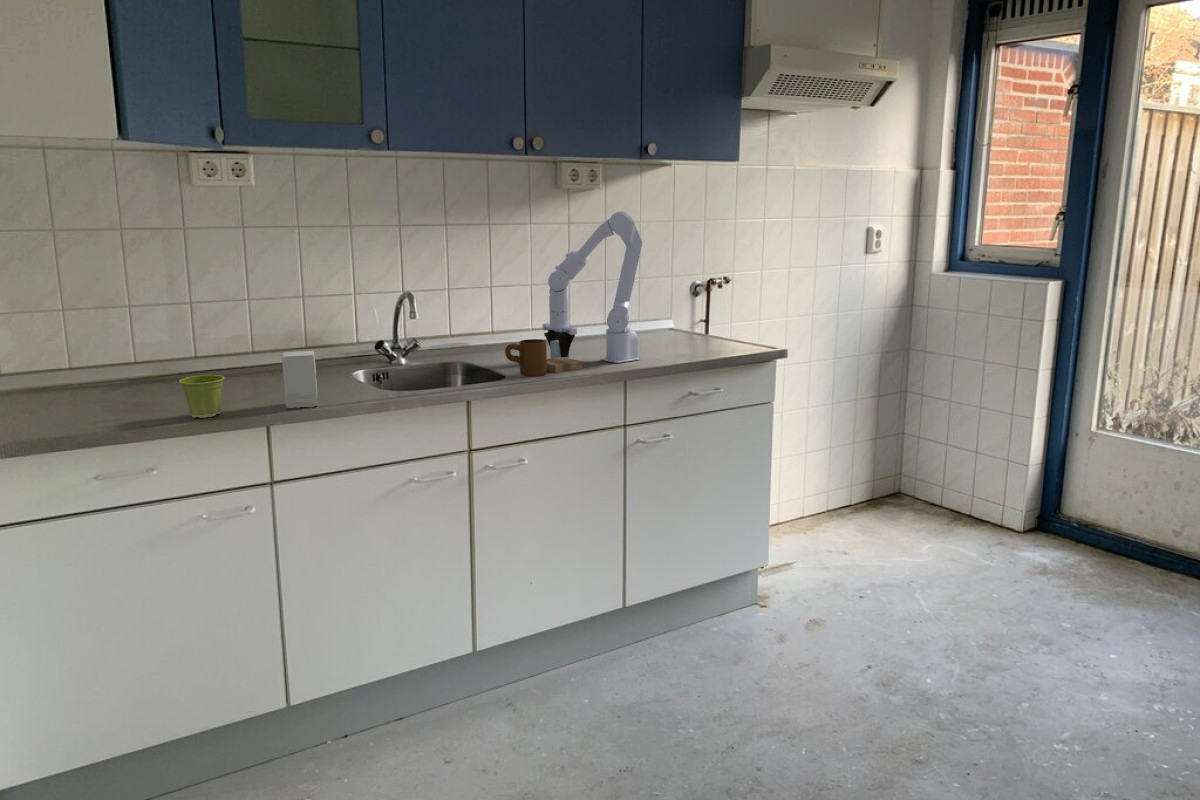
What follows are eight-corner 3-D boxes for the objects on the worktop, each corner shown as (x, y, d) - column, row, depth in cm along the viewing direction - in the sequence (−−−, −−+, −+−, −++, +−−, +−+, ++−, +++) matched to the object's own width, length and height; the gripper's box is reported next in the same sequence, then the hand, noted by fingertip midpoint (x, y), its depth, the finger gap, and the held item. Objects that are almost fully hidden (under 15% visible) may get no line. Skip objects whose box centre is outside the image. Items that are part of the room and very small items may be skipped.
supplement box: (318, 407, 212) (314, 354, 209) (285, 409, 210) (280, 356, 207) (318, 401, 219) (314, 350, 216) (286, 403, 217) (282, 351, 214)
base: (562, 363, 266) (562, 357, 266) (583, 368, 258) (583, 361, 258) (534, 368, 260) (534, 361, 259) (555, 372, 252) (555, 365, 252)
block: (561, 359, 274) (560, 339, 273) (569, 360, 271) (568, 341, 270) (550, 360, 272) (550, 341, 271) (558, 362, 269) (558, 342, 268)
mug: (510, 379, 244) (509, 345, 242) (501, 374, 250) (500, 341, 248) (551, 375, 249) (550, 341, 247) (540, 370, 255) (540, 338, 253)
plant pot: (232, 416, 203) (228, 379, 201) (188, 423, 198) (183, 384, 196) (222, 409, 211) (218, 373, 209) (179, 415, 206) (175, 378, 204)
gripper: (534, 310, 271) (535, 354, 274) (563, 314, 260) (564, 360, 263) (552, 308, 276) (553, 351, 279) (582, 312, 265) (582, 357, 268)
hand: (559, 356), depth 271 cm, fingers closed on block, 4 cm apart
